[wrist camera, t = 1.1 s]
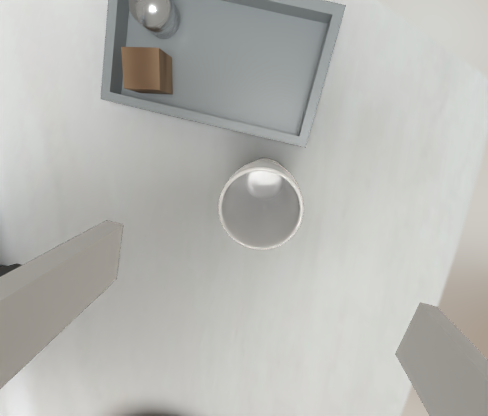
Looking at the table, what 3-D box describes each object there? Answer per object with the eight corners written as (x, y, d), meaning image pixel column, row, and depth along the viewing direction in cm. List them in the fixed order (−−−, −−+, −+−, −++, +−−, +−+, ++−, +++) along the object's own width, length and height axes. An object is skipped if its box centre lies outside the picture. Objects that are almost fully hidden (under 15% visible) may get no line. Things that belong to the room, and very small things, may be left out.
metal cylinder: (143, 34, 32) (126, 21, 28) (148, -6, 31) (130, -25, 27) (177, 42, 32) (164, 30, 28) (183, 2, 31) (170, -16, 27)
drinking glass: (264, 140, 35) (258, 146, 20) (303, 177, 35) (324, 209, 21) (227, 180, 36) (198, 211, 22) (266, 214, 37) (261, 267, 23)
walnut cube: (140, 93, 34) (123, 88, 30) (138, 56, 33) (121, 46, 29) (172, 94, 34) (159, 89, 30) (172, 57, 33) (158, 47, 29)
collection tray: (115, 101, 35) (100, 99, 32) (127, -29, 31) (111, -46, 28) (302, 146, 34) (305, 147, 31) (338, 17, 30) (345, 5, 28)
